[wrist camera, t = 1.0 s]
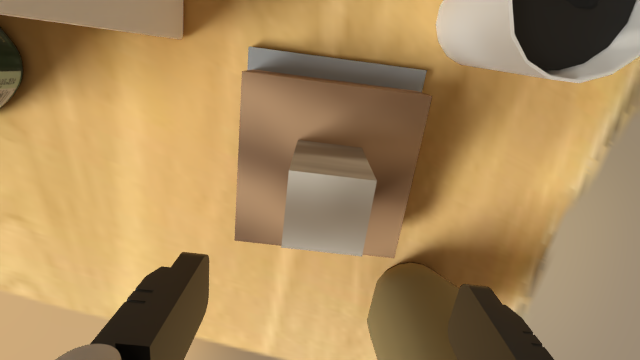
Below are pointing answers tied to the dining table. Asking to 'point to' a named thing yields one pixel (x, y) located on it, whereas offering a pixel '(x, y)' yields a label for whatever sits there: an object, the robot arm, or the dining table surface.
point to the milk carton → (105, 14)
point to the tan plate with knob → (325, 162)
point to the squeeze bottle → (412, 314)
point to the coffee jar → (9, 68)
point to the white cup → (542, 36)
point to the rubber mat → (336, 69)
